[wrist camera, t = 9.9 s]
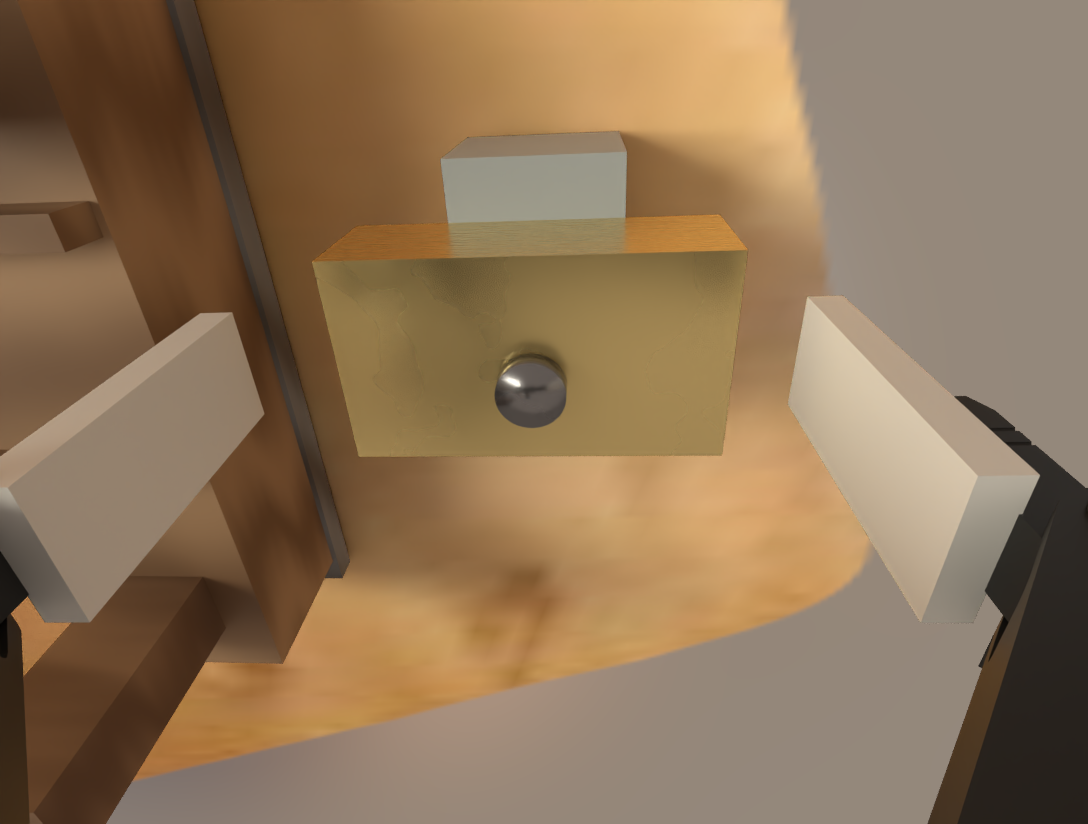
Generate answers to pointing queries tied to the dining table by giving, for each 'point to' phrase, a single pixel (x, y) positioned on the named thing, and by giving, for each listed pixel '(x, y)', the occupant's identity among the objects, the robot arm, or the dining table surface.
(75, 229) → the plane body
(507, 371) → the lever cap
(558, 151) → the block
